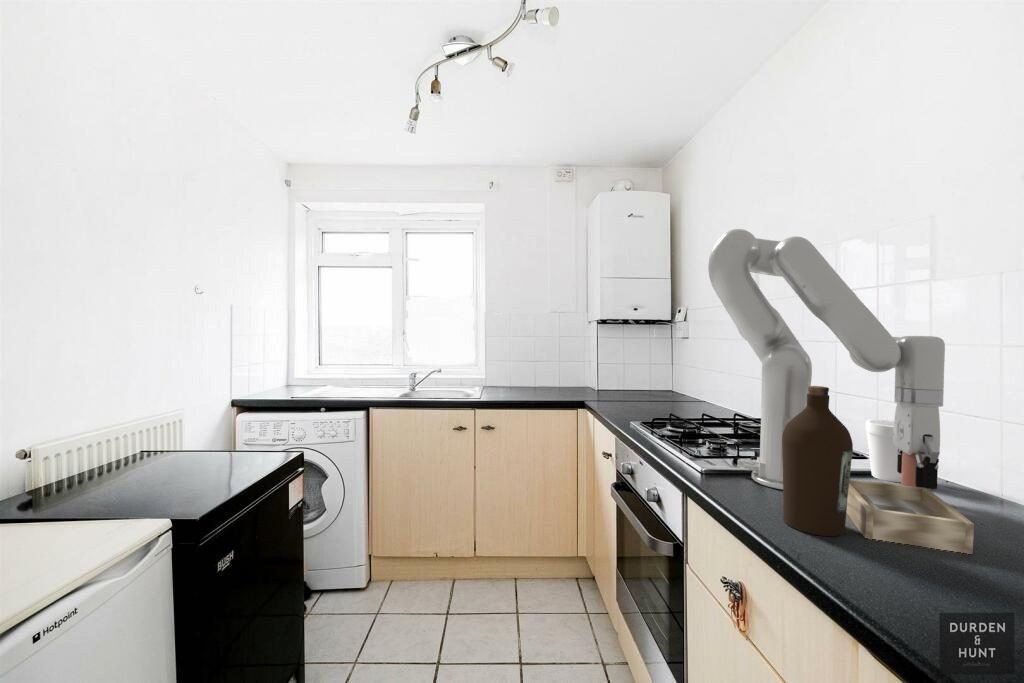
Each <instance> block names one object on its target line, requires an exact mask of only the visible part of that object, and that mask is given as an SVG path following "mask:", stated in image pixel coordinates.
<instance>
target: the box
mask: <svg viewBox="0 0 1024 683" xmlns="http://www.w3.org/2000/svg"><path fill="white" fill-rule="evenodd" d="M846 515H847V516H848V517H849V518H850V519H851V521H852V522H853V524H854V525H855V527H856V528H857V529H858V531H859V532H860V533H861V535H862V534H863V535H862V536H863V537H864V539H865V538H868V539H867V540H872V539H876V540H875V541H878V540H883V541H882V542H885V541H890V542H889V543H891V542H895V543H894V544H897V543H902V544H901V545H904V544H910V545H917V546H923V547H929V548H928V549H930V548H935V549H934V550H936V549H941V550H940V551H943V550H949V551H954V552H953V553H956V552H961V553H960V554H962V553H967V554H966V555H968V554H973V552H974V551H973V550H974V536H975V535H974V534H975V532H974V531H975V523H973V521H971V520H970V519H968V518H967V517H966V516H964V515H963V514H961V513H960V511H958V510H957V509H955V508H954V507H952V506H951V505H950V504H948V503H947V502H946V501H945V500H943V499H942V498H940V497H939V496H938V495H936V494H935V493H934V492H932V491H931V489H927V488H923V487H914V486H906V485H901V484H895V483H889V482H886V483H885V482H877V481H870V480H862V479H853V478H850V479H849V489H848V499H847V511H846ZM910 545H909V546H910ZM917 546H916V547H917ZM923 547H922V548H923ZM949 551H948V552H949Z"/></svg>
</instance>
